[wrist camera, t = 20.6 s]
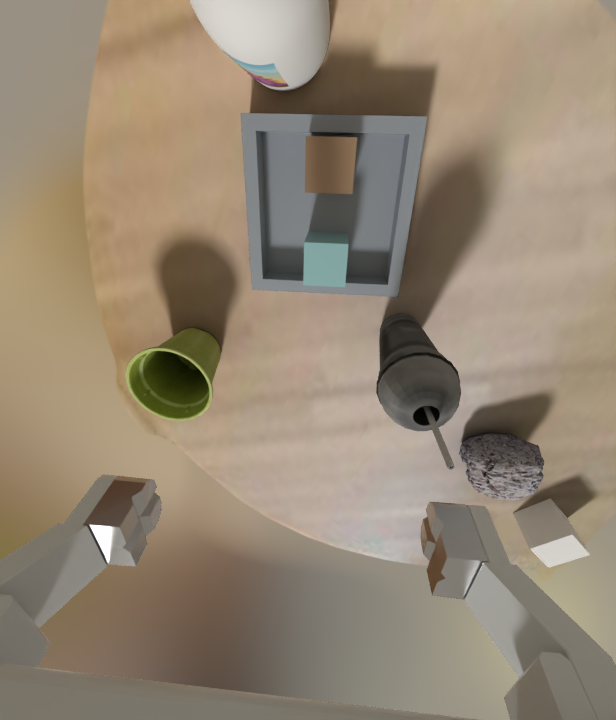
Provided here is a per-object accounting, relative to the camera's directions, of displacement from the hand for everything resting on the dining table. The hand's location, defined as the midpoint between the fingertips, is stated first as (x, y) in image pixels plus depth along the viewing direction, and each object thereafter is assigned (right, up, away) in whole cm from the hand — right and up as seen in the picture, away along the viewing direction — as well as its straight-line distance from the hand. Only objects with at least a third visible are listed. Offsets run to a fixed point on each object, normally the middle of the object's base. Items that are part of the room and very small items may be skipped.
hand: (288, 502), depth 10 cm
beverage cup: (+11, +8, +31) cm, 34 cm away
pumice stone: (+26, -8, +39) cm, 47 cm away
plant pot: (-14, +6, +34) cm, 38 cm away
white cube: (+38, -20, +45) cm, 62 cm away
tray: (+3, +19, +25) cm, 31 cm away
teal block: (+3, +16, +26) cm, 31 cm away
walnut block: (+3, +22, +22) cm, 32 cm away
